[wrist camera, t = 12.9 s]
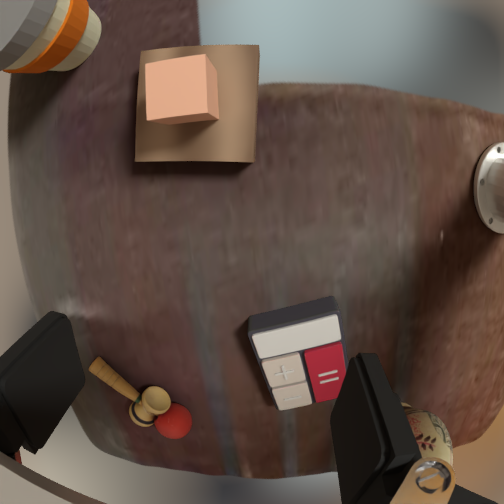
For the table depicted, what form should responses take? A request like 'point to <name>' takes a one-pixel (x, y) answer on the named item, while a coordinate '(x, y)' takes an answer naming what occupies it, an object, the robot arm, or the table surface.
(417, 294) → the table surface
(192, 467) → the table surface
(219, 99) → the base
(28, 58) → the reusable coffee cup
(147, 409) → the kendama
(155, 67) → the block
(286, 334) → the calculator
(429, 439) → the ceramic jug
